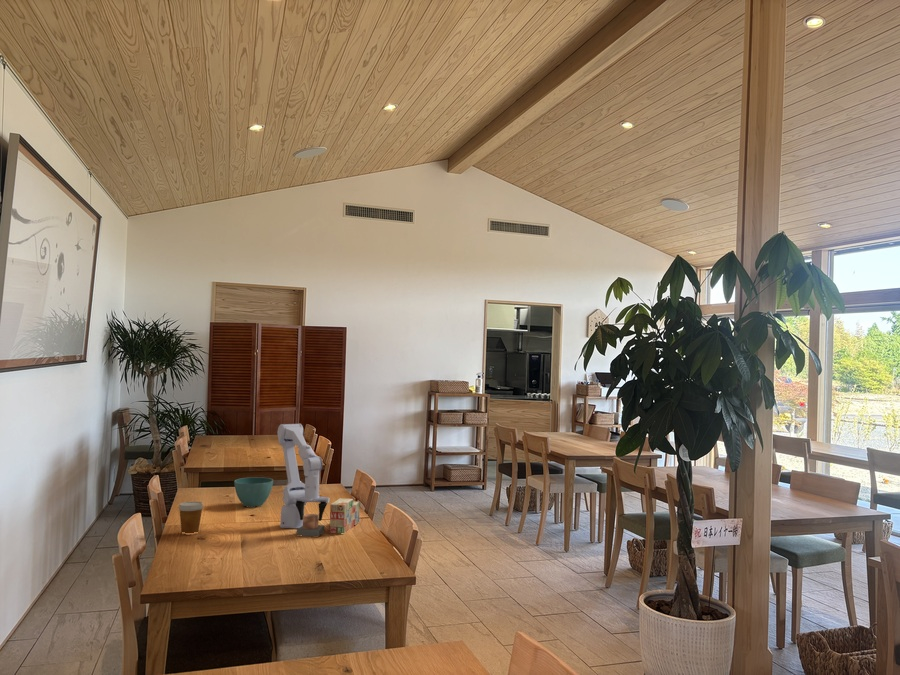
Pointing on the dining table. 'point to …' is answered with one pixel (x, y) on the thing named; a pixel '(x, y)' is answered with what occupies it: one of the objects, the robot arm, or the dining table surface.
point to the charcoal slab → (311, 531)
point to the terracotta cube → (310, 521)
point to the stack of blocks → (343, 515)
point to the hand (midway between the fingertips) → (311, 519)
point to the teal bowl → (253, 490)
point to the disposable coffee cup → (190, 516)
